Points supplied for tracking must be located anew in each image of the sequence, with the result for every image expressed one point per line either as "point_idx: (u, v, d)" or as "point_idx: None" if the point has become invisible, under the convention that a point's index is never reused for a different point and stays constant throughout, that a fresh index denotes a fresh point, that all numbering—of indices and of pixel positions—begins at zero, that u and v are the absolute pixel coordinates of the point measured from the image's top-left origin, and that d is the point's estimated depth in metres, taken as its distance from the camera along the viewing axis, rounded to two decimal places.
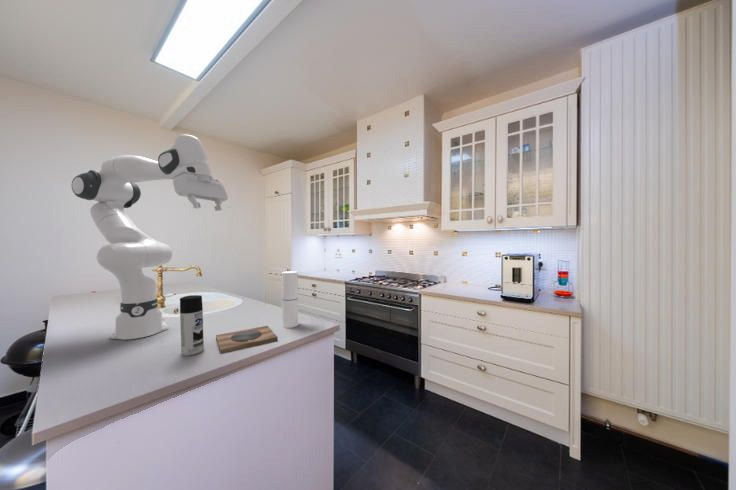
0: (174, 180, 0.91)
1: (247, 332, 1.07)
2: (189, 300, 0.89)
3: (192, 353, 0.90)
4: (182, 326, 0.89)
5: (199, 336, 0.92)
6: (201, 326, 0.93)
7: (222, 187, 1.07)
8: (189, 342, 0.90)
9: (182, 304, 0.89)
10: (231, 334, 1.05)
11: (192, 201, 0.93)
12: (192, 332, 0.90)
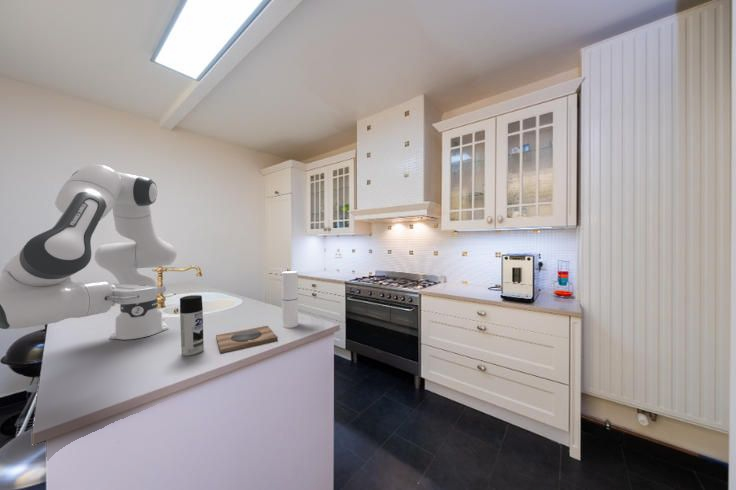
0: None
1: (247, 332, 1.07)
2: (189, 300, 0.89)
3: (192, 353, 0.90)
4: (182, 326, 0.89)
5: (199, 336, 0.92)
6: (201, 326, 0.93)
7: (133, 303, 0.68)
8: (189, 342, 0.90)
9: (182, 304, 0.89)
10: (231, 334, 1.05)
11: None
12: (192, 332, 0.90)
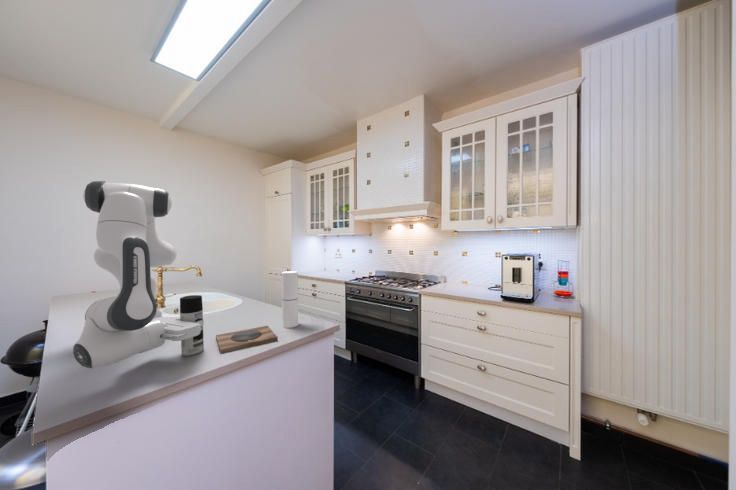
0: None
1: (247, 332, 1.07)
2: (189, 300, 0.89)
3: (192, 353, 0.90)
4: None
5: (199, 336, 0.92)
6: (201, 326, 0.93)
7: None
8: (189, 342, 0.90)
9: (182, 304, 0.89)
10: (231, 334, 1.05)
11: None
12: None
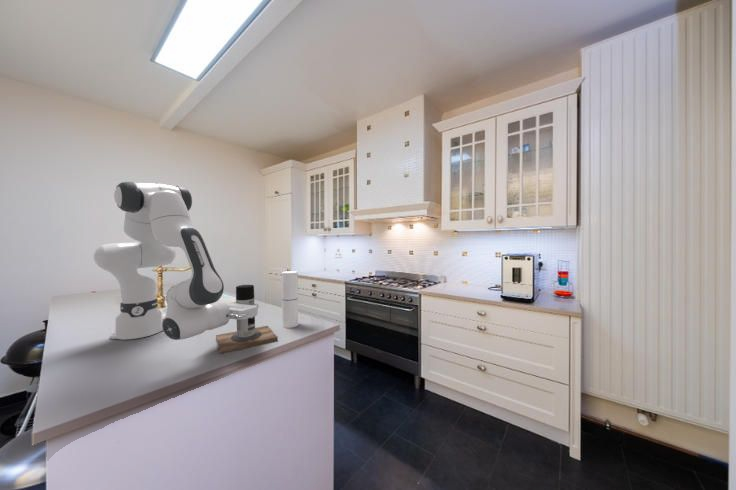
0: None
1: None
2: (245, 288, 1.00)
3: (247, 335, 1.01)
4: None
5: (252, 321, 1.03)
6: None
7: None
8: (244, 325, 1.01)
9: (238, 292, 1.00)
10: (231, 334, 1.05)
11: None
12: None
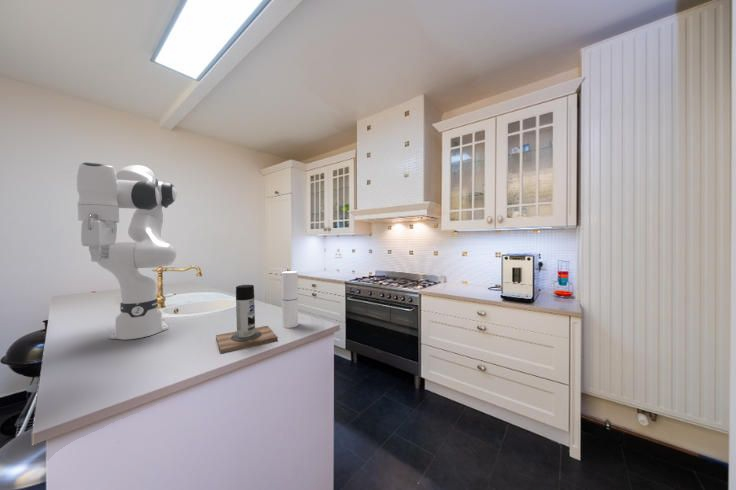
0: None
1: None
2: (245, 288, 1.00)
3: (247, 335, 1.01)
4: (238, 311, 1.00)
5: (252, 321, 1.03)
6: (253, 312, 1.04)
7: None
8: (244, 325, 1.01)
9: (238, 292, 1.00)
10: (231, 334, 1.05)
11: None
12: (247, 317, 1.01)
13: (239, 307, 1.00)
